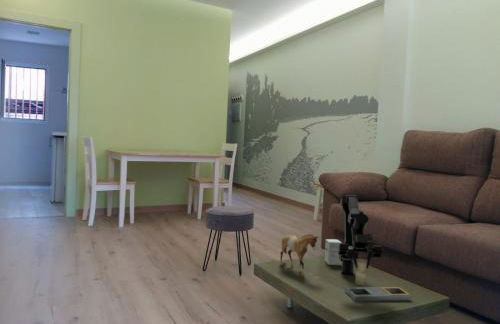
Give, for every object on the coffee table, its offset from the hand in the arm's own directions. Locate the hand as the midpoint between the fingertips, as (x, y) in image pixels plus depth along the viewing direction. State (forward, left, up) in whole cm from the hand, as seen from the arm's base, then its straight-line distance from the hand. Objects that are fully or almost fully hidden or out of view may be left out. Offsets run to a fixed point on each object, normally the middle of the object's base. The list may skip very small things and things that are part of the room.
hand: (362, 267), depth 171 cm
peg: (-1, 0, -7) cm, 7 cm away
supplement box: (-49, -13, -13) cm, 53 cm away
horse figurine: (-31, -30, -13) cm, 46 cm away
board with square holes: (-4, +7, -13) cm, 15 cm away
